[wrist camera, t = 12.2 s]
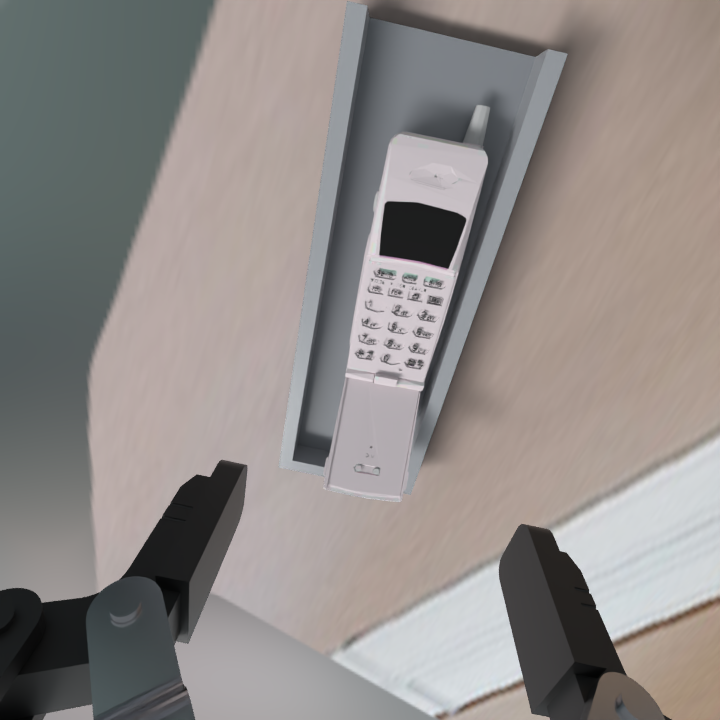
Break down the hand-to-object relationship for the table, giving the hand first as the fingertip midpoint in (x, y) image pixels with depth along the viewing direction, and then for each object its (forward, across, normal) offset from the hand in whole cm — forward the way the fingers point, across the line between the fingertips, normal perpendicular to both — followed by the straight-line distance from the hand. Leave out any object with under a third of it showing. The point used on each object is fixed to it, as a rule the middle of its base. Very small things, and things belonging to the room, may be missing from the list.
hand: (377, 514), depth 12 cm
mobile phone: (+19, -1, 0) cm, 19 cm away
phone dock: (+20, 0, 0) cm, 20 cm away
